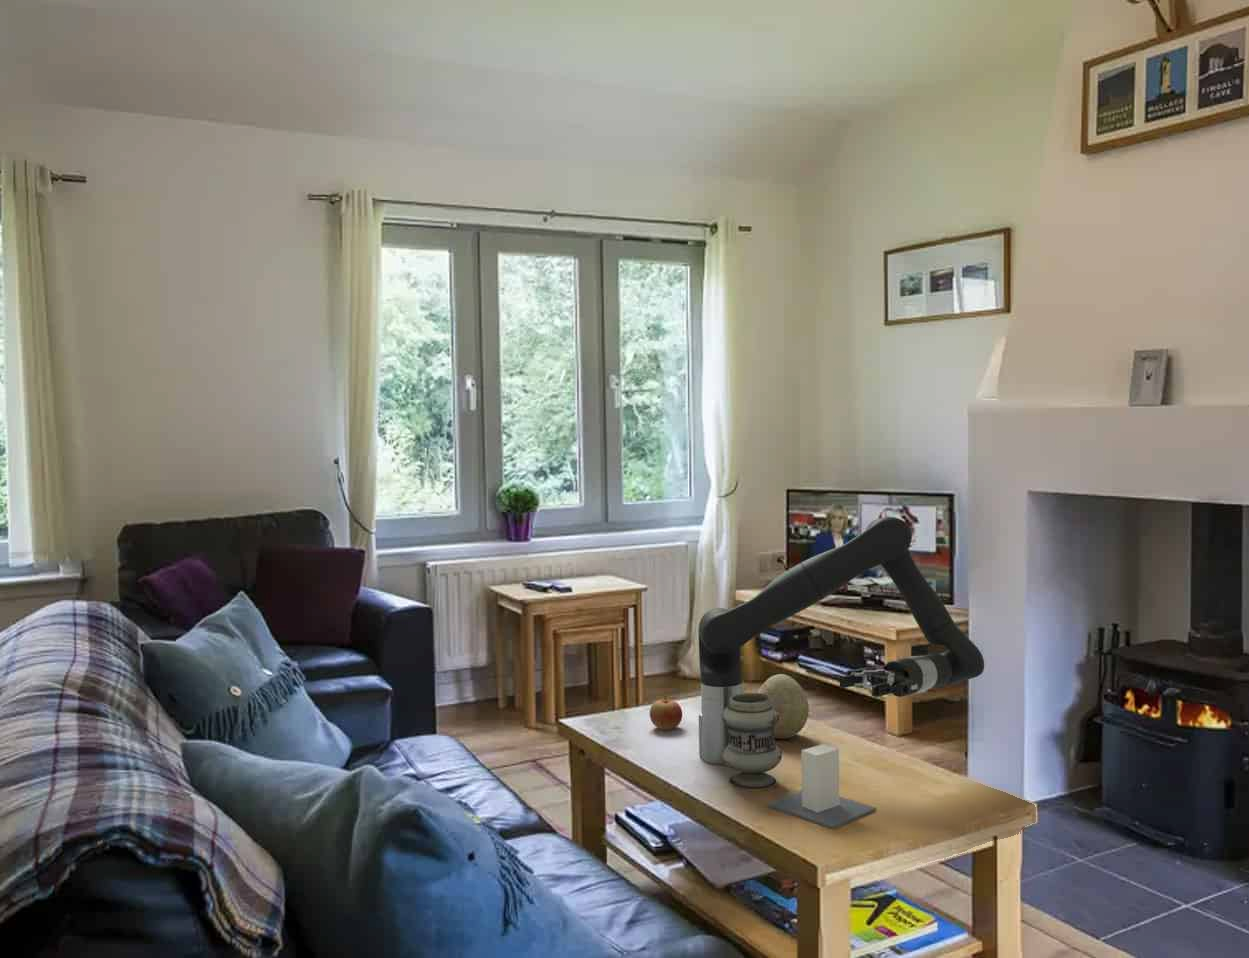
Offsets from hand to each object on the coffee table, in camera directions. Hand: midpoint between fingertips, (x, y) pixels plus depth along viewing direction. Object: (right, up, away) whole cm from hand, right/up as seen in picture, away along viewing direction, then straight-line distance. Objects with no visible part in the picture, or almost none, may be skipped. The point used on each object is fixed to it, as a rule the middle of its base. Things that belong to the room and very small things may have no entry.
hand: (856, 687), depth 210 cm
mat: (-9, -22, -7) cm, 25 cm away
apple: (-36, -20, +48) cm, 63 cm away
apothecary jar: (-20, -22, +8) cm, 30 cm away
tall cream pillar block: (-9, -21, -8) cm, 24 cm away
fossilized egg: (-9, -20, +38) cm, 44 cm away
